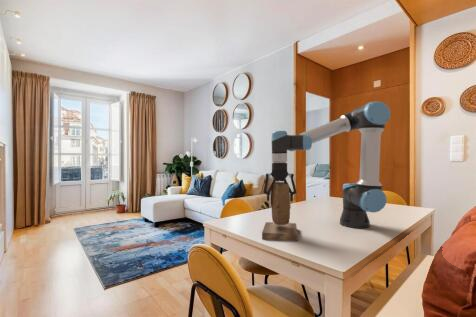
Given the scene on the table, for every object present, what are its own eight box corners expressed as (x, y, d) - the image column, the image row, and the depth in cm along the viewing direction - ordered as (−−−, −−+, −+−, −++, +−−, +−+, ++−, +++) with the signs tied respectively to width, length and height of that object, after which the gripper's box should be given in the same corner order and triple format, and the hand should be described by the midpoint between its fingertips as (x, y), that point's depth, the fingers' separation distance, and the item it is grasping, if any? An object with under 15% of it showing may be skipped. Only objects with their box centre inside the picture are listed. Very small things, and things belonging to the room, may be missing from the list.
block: (291, 225, 118) (290, 183, 118) (275, 226, 117) (275, 183, 117) (283, 219, 128) (283, 181, 128) (269, 220, 127) (269, 181, 127)
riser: (296, 229, 130) (296, 223, 130) (297, 241, 112) (297, 234, 112) (265, 227, 134) (265, 222, 134) (262, 239, 115) (262, 232, 115)
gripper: (256, 162, 121) (257, 208, 121) (302, 162, 117) (302, 210, 117) (258, 162, 128) (259, 205, 128) (301, 162, 124) (301, 206, 124)
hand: (279, 207), depth 123 cm, fingers closed on block, 9 cm apart
